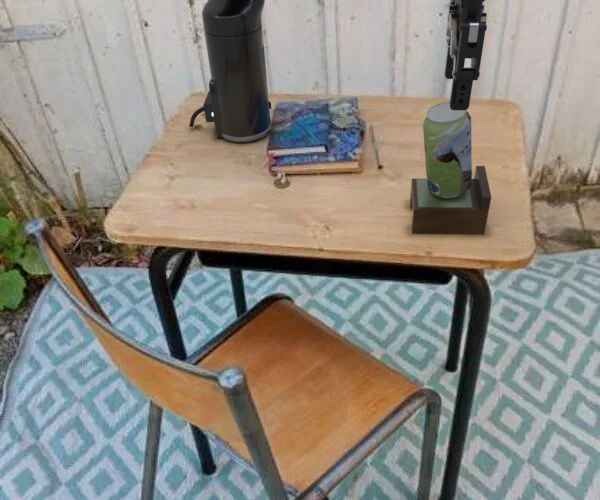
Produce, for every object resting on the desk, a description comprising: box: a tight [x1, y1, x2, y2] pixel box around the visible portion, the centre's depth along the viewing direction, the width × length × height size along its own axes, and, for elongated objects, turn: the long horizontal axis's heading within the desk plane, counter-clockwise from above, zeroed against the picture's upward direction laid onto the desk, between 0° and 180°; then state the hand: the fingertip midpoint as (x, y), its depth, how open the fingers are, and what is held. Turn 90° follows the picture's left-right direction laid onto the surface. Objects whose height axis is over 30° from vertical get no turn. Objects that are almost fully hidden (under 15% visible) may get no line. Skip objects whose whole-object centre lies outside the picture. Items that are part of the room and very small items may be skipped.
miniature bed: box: [409, 165, 492, 235], centre depth 91 cm, size 10×8×6 cm
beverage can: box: [422, 101, 473, 198], centre depth 86 cm, size 6×7×12 cm
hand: (455, 92), depth 80 cm, fingers open, 8 cm apart
